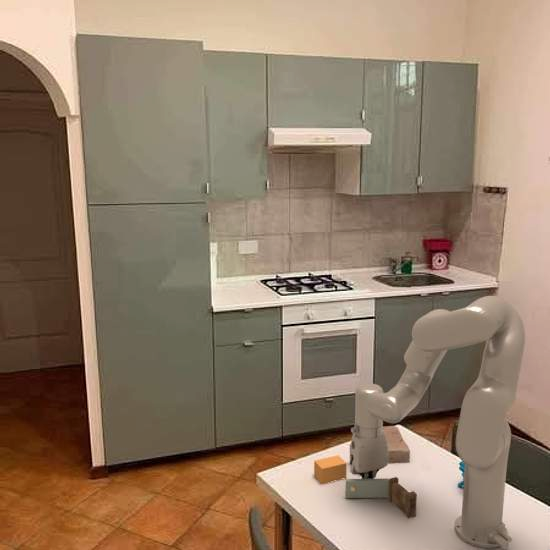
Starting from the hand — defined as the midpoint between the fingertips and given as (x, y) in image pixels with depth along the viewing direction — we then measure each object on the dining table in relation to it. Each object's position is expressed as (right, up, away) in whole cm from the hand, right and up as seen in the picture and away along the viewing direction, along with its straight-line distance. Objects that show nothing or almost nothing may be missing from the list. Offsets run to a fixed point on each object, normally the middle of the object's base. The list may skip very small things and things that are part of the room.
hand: (367, 489), depth 163 cm
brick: (+11, +3, +24) cm, 27 cm away
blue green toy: (+30, -1, +2) cm, 30 cm away
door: (0, -1, -3) cm, 3 cm away
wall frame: (+4, 0, +2) cm, 5 cm away
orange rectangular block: (-10, 0, +8) cm, 13 cm away
